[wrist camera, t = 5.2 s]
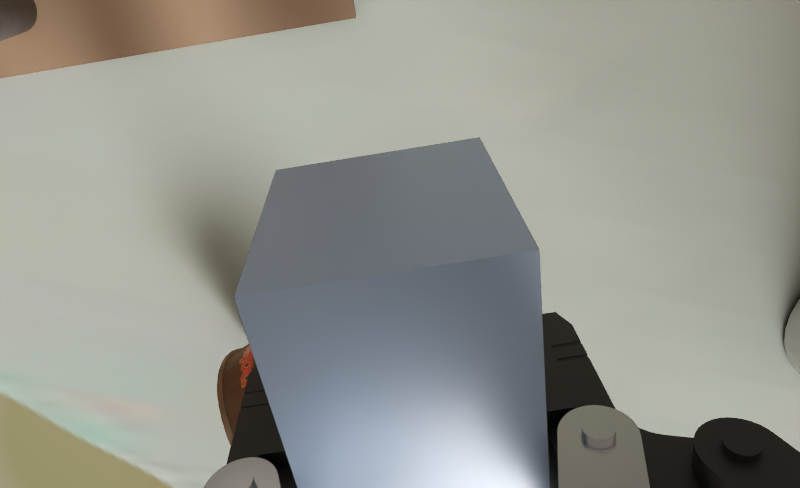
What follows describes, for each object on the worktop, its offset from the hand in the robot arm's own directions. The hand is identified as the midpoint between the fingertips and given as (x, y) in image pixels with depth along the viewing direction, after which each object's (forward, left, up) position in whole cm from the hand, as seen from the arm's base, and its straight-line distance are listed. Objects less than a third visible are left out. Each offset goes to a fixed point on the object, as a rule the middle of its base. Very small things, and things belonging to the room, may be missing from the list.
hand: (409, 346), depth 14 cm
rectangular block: (0, 0, 0) cm, 0 cm away
